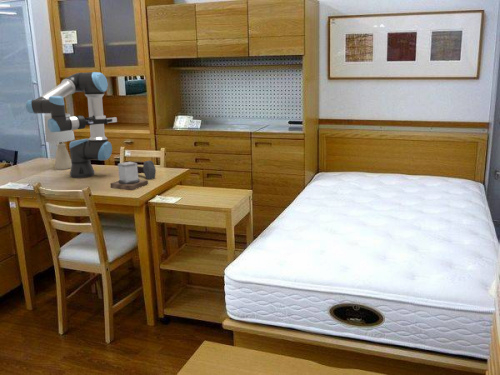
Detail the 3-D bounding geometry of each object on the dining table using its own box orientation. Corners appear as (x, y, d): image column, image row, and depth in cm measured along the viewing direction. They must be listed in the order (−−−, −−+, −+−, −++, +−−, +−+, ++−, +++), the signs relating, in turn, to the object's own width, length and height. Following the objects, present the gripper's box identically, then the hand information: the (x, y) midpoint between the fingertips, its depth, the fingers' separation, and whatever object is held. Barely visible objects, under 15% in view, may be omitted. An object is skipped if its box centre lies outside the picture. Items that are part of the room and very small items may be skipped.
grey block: (126, 182, 283) (124, 165, 281) (119, 180, 289) (117, 163, 286) (138, 180, 288) (137, 163, 286) (131, 177, 294) (130, 161, 292)
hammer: (123, 179, 323) (150, 179, 303) (120, 162, 321) (147, 161, 301) (129, 177, 327) (156, 178, 306) (126, 160, 325) (154, 160, 304)
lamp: (74, 170, 336) (67, 115, 326) (45, 171, 334) (38, 116, 325) (80, 164, 354) (75, 112, 344) (54, 165, 352) (47, 113, 343)
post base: (132, 190, 280) (130, 174, 278) (110, 187, 287) (109, 172, 285) (148, 184, 292) (146, 169, 290) (127, 182, 299) (125, 167, 297)
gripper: (68, 127, 290) (101, 123, 304) (87, 131, 273) (121, 126, 286) (66, 114, 288) (100, 110, 302) (85, 117, 271) (120, 113, 284)
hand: (111, 118), depth 294 cm, fingers open, 13 cm apart
